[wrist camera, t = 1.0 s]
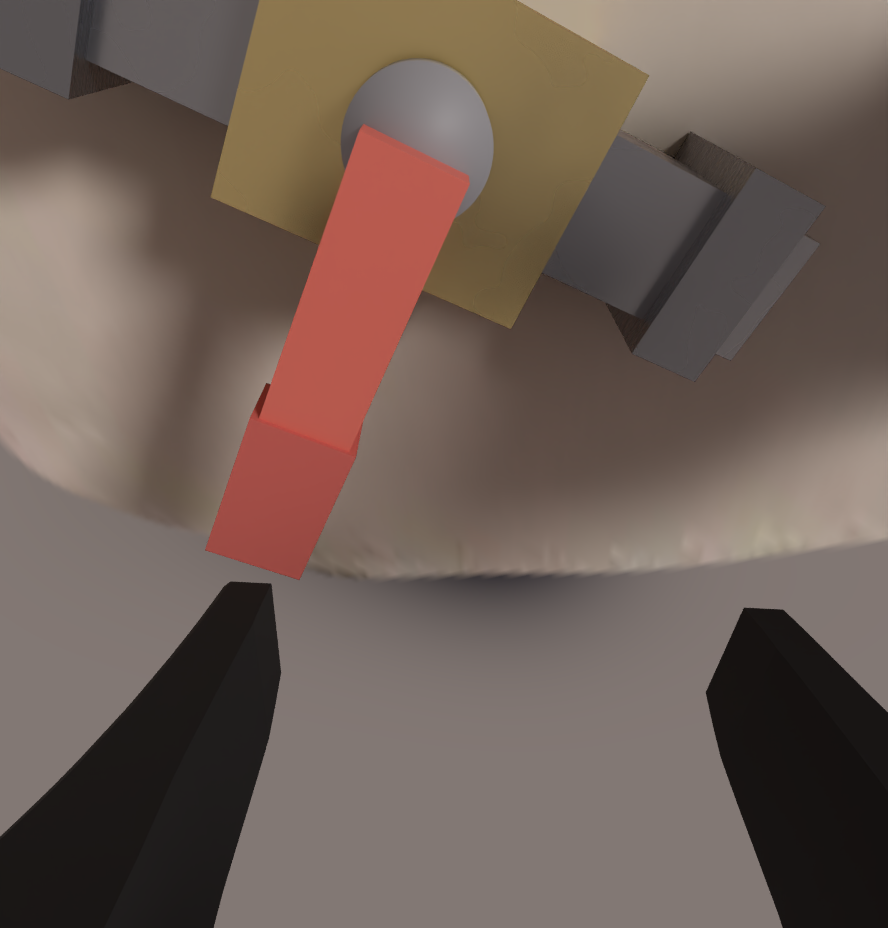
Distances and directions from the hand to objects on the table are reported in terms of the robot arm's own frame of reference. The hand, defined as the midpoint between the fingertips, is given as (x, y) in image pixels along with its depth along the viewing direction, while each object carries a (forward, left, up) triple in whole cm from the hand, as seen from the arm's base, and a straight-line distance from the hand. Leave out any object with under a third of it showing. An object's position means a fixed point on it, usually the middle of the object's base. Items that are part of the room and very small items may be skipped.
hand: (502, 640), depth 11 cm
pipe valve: (+4, -5, -10) cm, 12 cm away
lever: (+4, -1, -5) cm, 7 cm away
